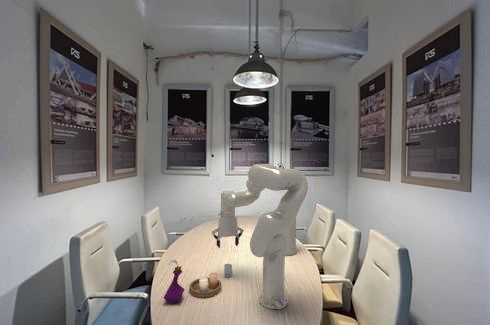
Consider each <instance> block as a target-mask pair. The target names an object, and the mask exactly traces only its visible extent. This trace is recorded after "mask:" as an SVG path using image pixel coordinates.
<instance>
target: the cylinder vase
mask: <svg viewBox="0 0 490 325" xmlns="http://www.w3.org/2000/svg"><path fill="white" fill-rule="evenodd" d="M284 234H285V235H286V238H287V247H286V252H285V257H286V256H294V255H295V254H296V252H297V217H296V218H295V220H294V222H293V225H292V227H291V228H290V230H289V231H287V232H285V233H284Z"/></svg>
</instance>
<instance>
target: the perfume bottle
mask: <svg viewBox="0 0 490 325" xmlns="http://www.w3.org/2000/svg"><path fill="white" fill-rule="evenodd" d="M171 263H174V264H176V266H175V267H174V270H172V271H173V272H172V274H173V279H172V280H171V283H170V285H169V287H168V289H167V290H166V292H165V294H164V296H163V299H164V300H165V301H166V302H167V303H168V304H179V303H180V301H181V298H182V296H183V294H184V292H185V288H184V287H183V286H181V285H180V284H179V282H178V280H179V276H180V275H181V274H182V273H183V269H182V266H181V265H180V266H179V264H178V261H177V260H176V259H174V258H173V259H172V260H170V261H169V264H168V265H171Z"/></svg>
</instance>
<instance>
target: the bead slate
mask: <svg viewBox="0 0 490 325" xmlns="http://www.w3.org/2000/svg"><path fill="white" fill-rule="evenodd" d="M223 274H224V278H225V279H230V278H231V279H232V276H233V264H231V263H225V264H224V272H223Z"/></svg>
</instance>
